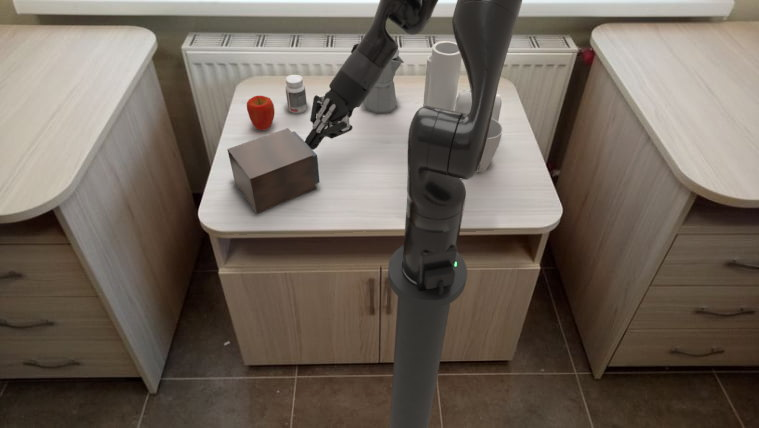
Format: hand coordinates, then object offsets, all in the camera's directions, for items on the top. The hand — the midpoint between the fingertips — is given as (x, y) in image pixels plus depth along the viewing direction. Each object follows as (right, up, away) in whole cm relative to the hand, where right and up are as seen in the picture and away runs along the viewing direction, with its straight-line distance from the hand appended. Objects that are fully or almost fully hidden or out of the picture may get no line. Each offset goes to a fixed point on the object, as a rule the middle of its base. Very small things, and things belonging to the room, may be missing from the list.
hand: (308, 146), depth 114 cm
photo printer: (+37, +4, +15) cm, 40 cm away
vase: (+29, +9, +20) cm, 37 cm away
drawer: (-5, -7, +2) cm, 9 cm away
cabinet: (-7, -8, +1) cm, 11 cm away
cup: (+37, -3, +8) cm, 38 cm away
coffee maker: (+14, +14, +25) cm, 32 cm away
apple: (-13, +7, +17) cm, 23 cm away
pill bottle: (-6, +12, +23) cm, 26 cm away
